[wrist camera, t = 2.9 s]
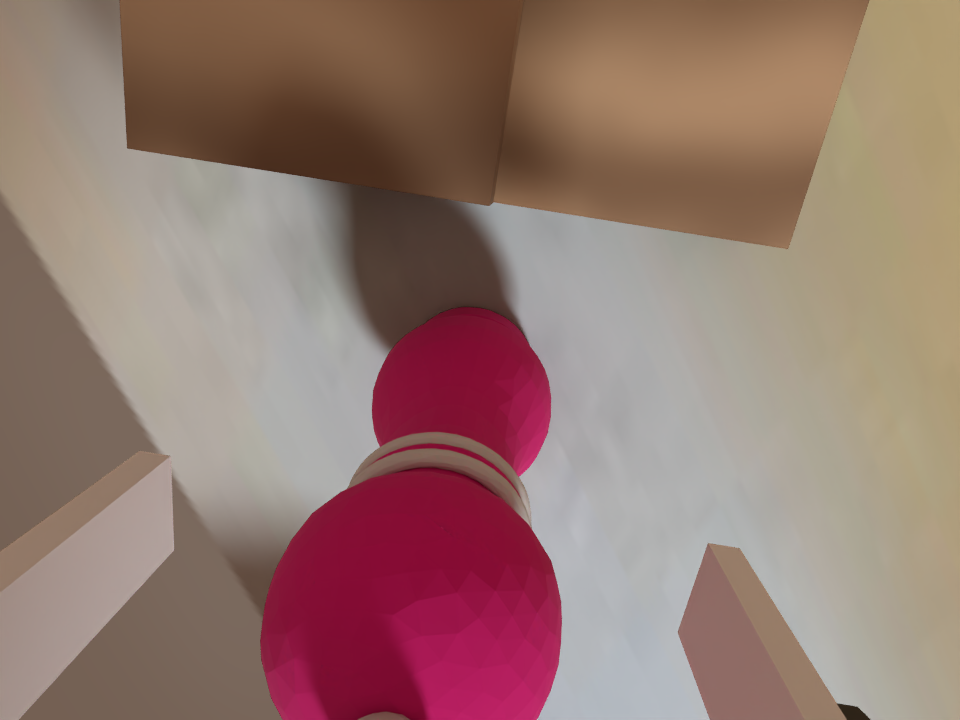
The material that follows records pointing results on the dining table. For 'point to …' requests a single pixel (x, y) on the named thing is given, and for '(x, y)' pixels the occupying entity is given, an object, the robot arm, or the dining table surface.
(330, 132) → the step stand
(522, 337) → the pepper mill
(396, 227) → the dining table surface
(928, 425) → the dining table surface
